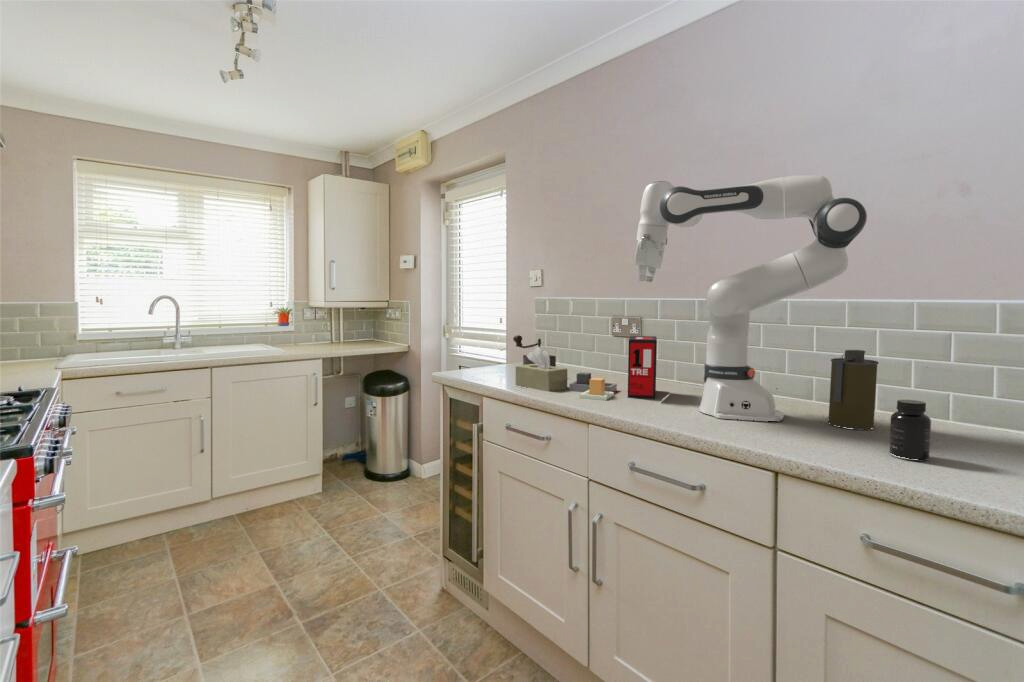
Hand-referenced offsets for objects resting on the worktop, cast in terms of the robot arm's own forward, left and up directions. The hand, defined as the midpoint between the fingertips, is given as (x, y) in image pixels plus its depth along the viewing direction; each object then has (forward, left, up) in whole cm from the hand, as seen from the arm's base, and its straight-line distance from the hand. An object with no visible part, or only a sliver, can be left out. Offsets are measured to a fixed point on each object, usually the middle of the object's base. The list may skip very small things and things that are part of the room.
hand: (645, 281), depth 159 cm
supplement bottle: (-63, +27, -39) cm, 79 cm away
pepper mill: (+54, -33, -39) cm, 74 cm away
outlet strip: (+21, -13, -39) cm, 46 cm away
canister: (-55, +1, -39) cm, 67 cm away
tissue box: (+41, -12, -39) cm, 58 cm away
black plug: (+25, -13, -38) cm, 47 cm away
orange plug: (+16, -3, -38) cm, 41 cm away
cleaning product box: (+4, -15, -39) cm, 42 cm away
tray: (+16, -3, -39) cm, 42 cm away
